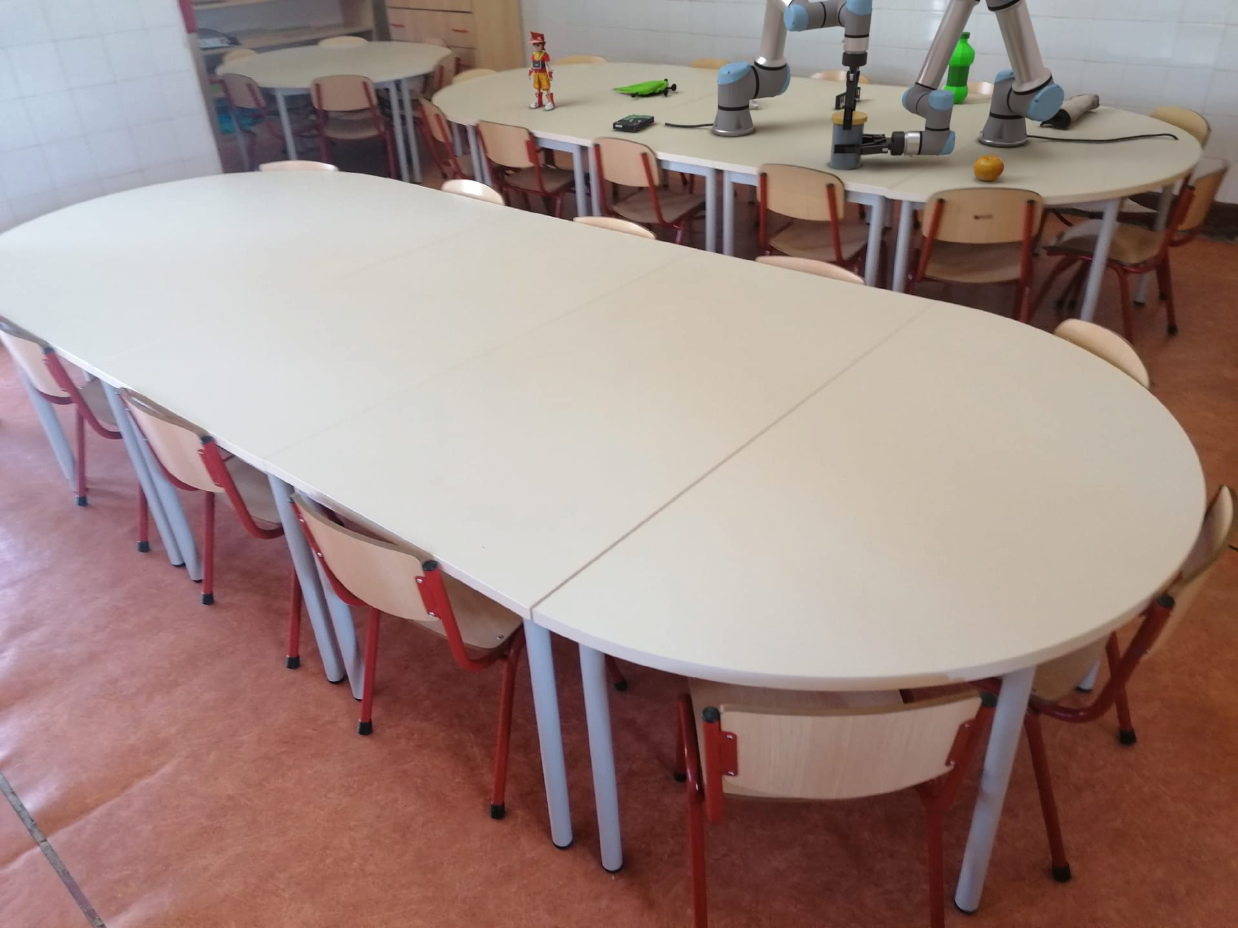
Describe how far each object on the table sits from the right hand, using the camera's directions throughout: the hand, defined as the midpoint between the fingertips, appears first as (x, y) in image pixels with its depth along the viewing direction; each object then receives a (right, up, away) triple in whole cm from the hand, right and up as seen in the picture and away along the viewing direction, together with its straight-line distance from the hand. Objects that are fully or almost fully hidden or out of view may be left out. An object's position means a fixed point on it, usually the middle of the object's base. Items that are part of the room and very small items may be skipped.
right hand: (833, 144), depth 293 cm
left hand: (+4, +5, -4) cm, 7 cm away
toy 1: (-103, +48, +90) cm, 145 cm away
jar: (+5, -6, +3) cm, 8 cm away
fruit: (+43, -17, -16) cm, 49 cm away
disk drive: (-64, +27, +56) cm, 90 cm away
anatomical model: (-19, +42, +74) cm, 87 cm away
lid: (+4, +7, -6) cm, 10 cm away
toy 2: (-61, +60, +104) cm, 135 cm away
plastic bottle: (+63, +39, +62) cm, 96 cm away
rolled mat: (+94, +21, +34) cm, 102 cm away
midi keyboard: (+22, +40, +67) cm, 81 cm away
